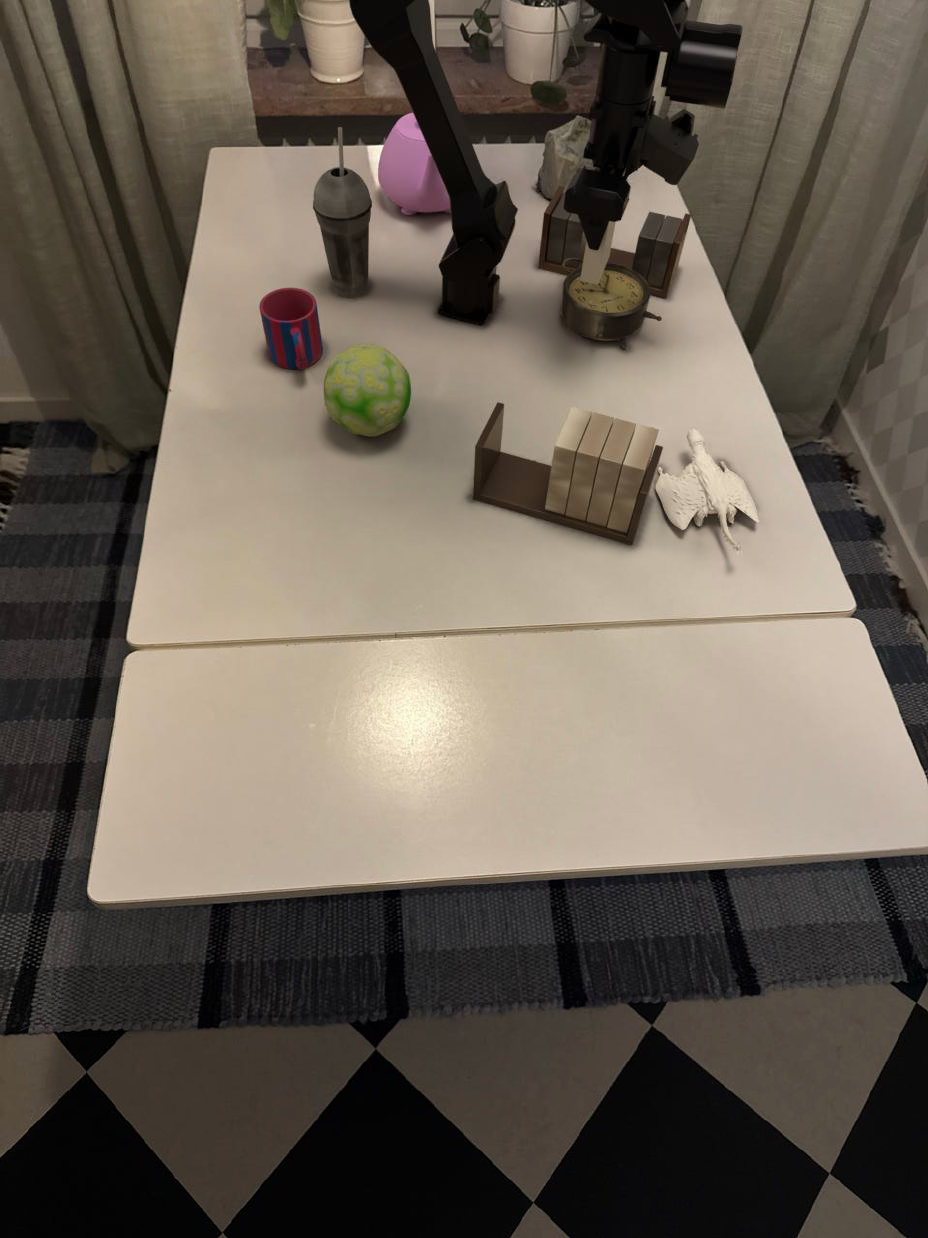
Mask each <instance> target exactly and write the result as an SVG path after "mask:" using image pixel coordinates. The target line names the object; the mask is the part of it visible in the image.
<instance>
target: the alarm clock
mask: <svg viewBox="0 0 928 1238" xmlns="http://www.w3.org/2000/svg"><path fill="white" fill-rule="evenodd" d="M571 260H575V261H579V262H581V263H583V260H581V259H578V258H569V259H566V260H565V261H564V262H563V268H564V270H565V271H566V272H568V273H570V274H569V275H567V276H566V277H565V279H564V281H563V285H562V294H561V302H560V303H561V304H560V314H561V317H562V320H563V321H564V323H565V324H566V326H567V327H568V328H569V329H570V330H572V331H573V332H574V333H576V334H577V335H580V336H582V337H584V338H587V339H589V340H590V339H591V340H596V341H602V342H603V341H604V342H605V341H619V343H620V345H621V347H622V349H623V350H627V349H628V344H627V341H626V339H625V338H627V337H629V336H632V335H633V334H635V333H636V332H637V331H638V330H640V329H641V328H642V326H643V324H644V322H645V320H646V319H649V320H656V321H657V322H661V321H662V319H663V317H662V316H660V315H656V314H655V313H653V312H651V311H648V307H649V303H650V299H651V296H652V295H651V290H650V287H649V284H648V283H647V281H646V280H645V279H644V278H643V277H642V276H641V275H640V274H639V273H637V272H636V271H634V270H632V269H630V268H628V267H625V266H622V265H619V264H614V263H607V264H606V266H605V269H604V271H603V274H602V276H601V279H600V281H599V284H598V285H596V284H591V283H587V282H582V281H580V279H581V273H582V266H581V267H579V268H577V269H575V270H573V271H572V272H571V271H569V270H567V269H566V267H565V263H566V262H567V261H571Z"/></svg>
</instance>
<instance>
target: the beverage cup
mask: <svg viewBox="0 0 928 1238" xmlns="http://www.w3.org/2000/svg"><path fill="white" fill-rule="evenodd" d="M343 136H344V135H343V127H341V126H339V127H337V137H338V138H337V139H338V140H337V141H338V164H339V166H336V167H332V168H330V169H328V170H326V171H324V172H323V174H322V175H321V176H320V177H319V178H318V180H317V182H316V183H315V186H314V190H313V200H312V209H313V211H314V214H315V217H316V221H317V223H318V226H319V228H320V233H321V238H322V242H323V247H324V252H325V256H326V261H327V265H328V270H329V274H330V280H331V281H332V285H333V290H334V291H335V293H336V294H337V295H339V296H340V297H343V298H344V297H345V298H356V297H357V298H358V297H360V296H362V295H364V294H365V293H366V292H367V290H368V288H369V286H368V284H369V283H368V282H369V262H370V261H369V258H370V257H369V256H370V255H369V254H370V253H369V251H370V249H369V247H370V222H371V216H372V208H373V201H372V198H371V194H370V190H369V188H368V185H367V184H366V182H365V181H364V179H363V177H362V176H360V174H359V173H357V172H355V170H353V169H350V168H348V167H345V164H344V139H343Z"/></svg>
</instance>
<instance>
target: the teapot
mask: <svg viewBox="0 0 928 1238" xmlns="http://www.w3.org/2000/svg"><path fill="white" fill-rule="evenodd" d="M377 180H378V184H379V187H380V188H381V190H382V191H383V193H384V194H385V195H386V196H387V197H388V198H389V199H390V200H391V201H392V202H393V203H394V204H396V205H397V206H399V207H400V208H401V213H402V214H404V215H408V216H413V215H415V214H417V213H418V212H419V213H438V212H443V213H448V214H451V209H450V199H449V195H448V193H447V190H446V188H445V186H444V183H443V181H442V179H441V177H440V174H439V172H438V170H437V167H436V165H435V163H434V160H433V158H432V156H431V153H430V151H429V149H428V146H427V144H426V142H425V139H424V137H423V135H422V132H421V130H420V128H419V125H418V123H417V121H416V118H415V116H414V114H413V112H410V113H406V114H405V115H403V116H402V117H400V118H399V119H398V120H397V121H396V123H395V124H394V126H393V127H392V129H391V130H390V132H389V133H388V136H387V137H386V140H385V142H384V144H383V146H382V149H381V152H380V156H379V161H378V166H377Z"/></svg>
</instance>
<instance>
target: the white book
mask: <svg viewBox="0 0 928 1238" xmlns="http://www.w3.org/2000/svg"><path fill="white" fill-rule="evenodd" d="M616 224H617V223H616V222H612V221H609V224H608V226H607V229H606V232H605V234H604V237H603V240H602V242H601V245H600V247H599V250H592V249H589V247H588V244H587V241H586V247H585V253H584V260H583V266H582V273H581V279H580V281H582V282H587V283H591V284H596V285H598V284H599V281H600V279H601V276H602V274H603V271H604V269H605V266H606V264H607V261H608V259H609V256H610V250H611V248H612V243H613V238H614V233H615V228H616Z"/></svg>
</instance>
